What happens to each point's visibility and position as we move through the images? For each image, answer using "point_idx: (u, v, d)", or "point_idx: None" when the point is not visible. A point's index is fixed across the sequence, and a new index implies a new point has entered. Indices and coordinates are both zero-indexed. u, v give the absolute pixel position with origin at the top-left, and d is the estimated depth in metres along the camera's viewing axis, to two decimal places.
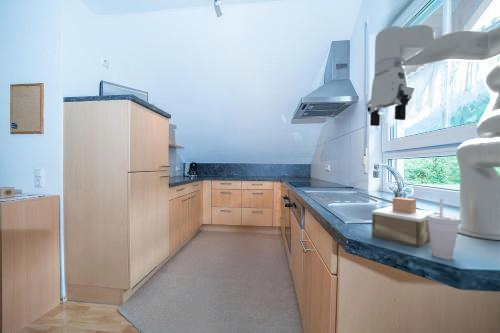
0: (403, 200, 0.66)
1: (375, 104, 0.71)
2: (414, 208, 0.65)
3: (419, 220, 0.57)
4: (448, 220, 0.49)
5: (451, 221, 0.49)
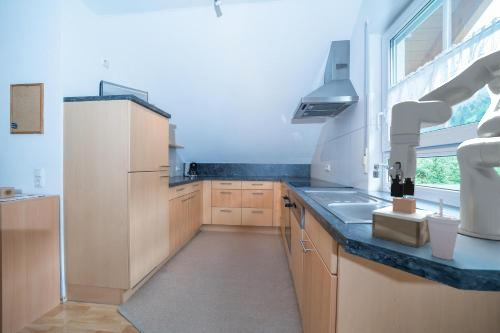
0: (403, 200, 0.66)
1: (408, 175, 0.64)
2: (414, 208, 0.65)
3: (419, 220, 0.57)
4: (448, 220, 0.49)
5: (451, 221, 0.49)
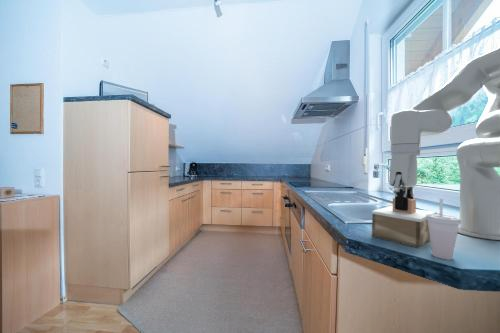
0: None
1: (409, 185, 0.64)
2: (414, 208, 0.65)
3: (419, 220, 0.57)
4: (448, 220, 0.49)
5: (451, 221, 0.49)
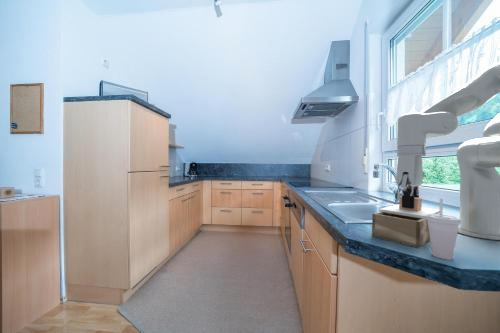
0: None
1: (415, 184, 0.67)
2: (420, 206, 0.69)
3: (425, 217, 0.61)
4: (448, 220, 0.49)
5: (451, 221, 0.49)
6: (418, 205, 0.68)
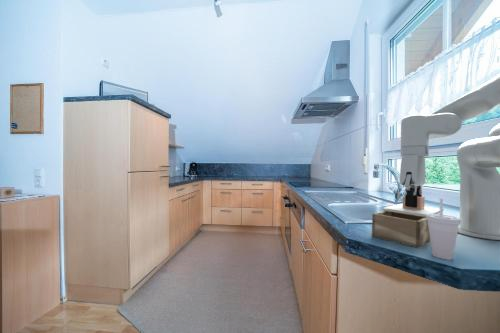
0: None
1: (418, 184, 0.69)
2: (423, 205, 0.71)
3: None
4: (448, 220, 0.49)
5: (451, 221, 0.49)
6: (421, 204, 0.70)
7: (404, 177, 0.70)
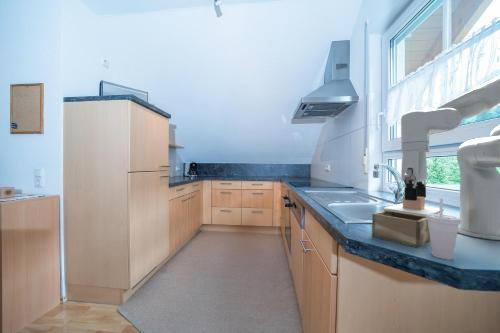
0: None
1: (420, 180, 0.69)
2: (423, 205, 0.71)
3: None
4: (448, 220, 0.49)
5: (451, 221, 0.49)
6: (421, 204, 0.70)
7: None
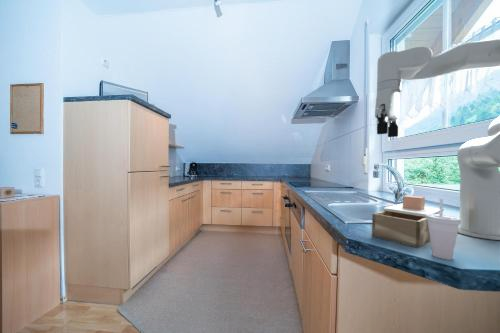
0: (413, 198, 0.71)
1: (391, 115, 0.75)
2: (423, 205, 0.71)
3: None
4: (448, 220, 0.49)
5: (451, 221, 0.49)
6: (421, 204, 0.70)
7: None
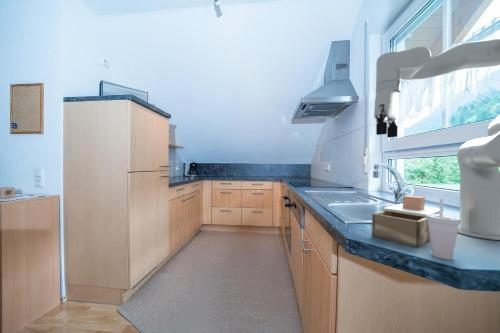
0: (413, 198, 0.71)
1: (390, 116, 0.75)
2: (423, 205, 0.71)
3: None
4: (448, 220, 0.49)
5: (451, 221, 0.49)
6: (421, 204, 0.70)
7: None
